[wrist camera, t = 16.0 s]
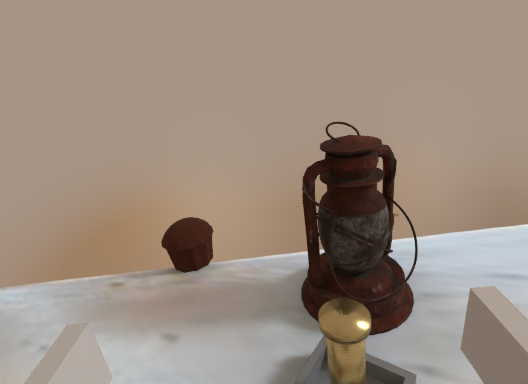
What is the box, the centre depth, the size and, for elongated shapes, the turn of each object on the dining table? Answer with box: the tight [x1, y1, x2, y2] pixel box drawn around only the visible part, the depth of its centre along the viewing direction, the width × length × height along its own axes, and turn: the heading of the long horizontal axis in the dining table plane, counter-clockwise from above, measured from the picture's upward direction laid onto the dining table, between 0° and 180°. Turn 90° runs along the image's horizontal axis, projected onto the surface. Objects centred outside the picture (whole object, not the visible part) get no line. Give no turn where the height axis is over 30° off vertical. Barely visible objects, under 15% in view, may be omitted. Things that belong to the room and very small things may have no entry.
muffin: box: [162, 217, 213, 273], centre depth 71 cm, size 12×11×10 cm
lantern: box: [302, 122, 417, 335], centre depth 51 cm, size 19×19×30 cm
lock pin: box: [318, 298, 371, 384], centre depth 35 cm, size 5×5×14 cm
